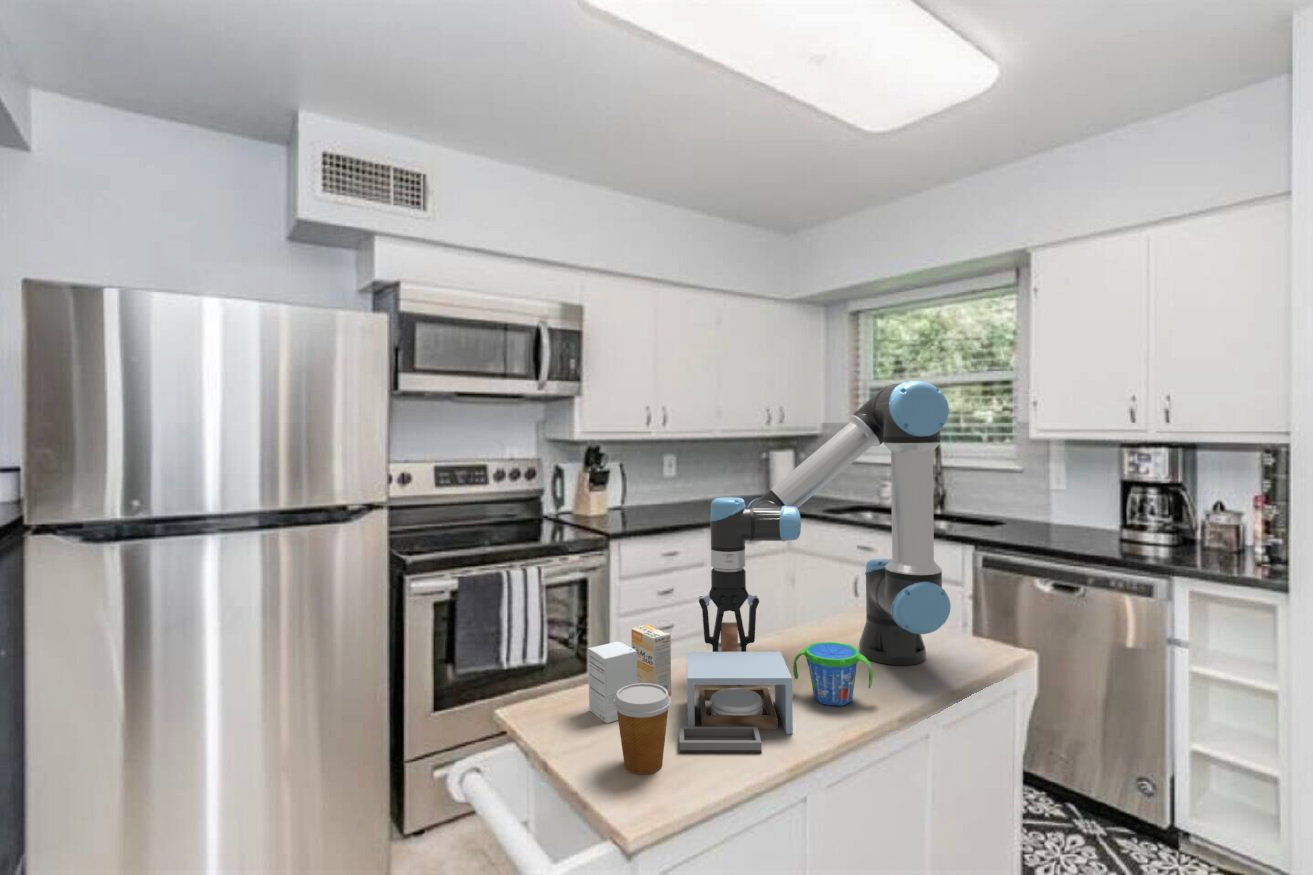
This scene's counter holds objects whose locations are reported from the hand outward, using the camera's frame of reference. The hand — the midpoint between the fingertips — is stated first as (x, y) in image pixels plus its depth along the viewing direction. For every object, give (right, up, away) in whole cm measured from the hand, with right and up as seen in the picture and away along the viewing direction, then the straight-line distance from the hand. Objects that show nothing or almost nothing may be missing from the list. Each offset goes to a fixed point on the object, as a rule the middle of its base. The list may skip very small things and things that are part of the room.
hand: (729, 673), depth 147 cm
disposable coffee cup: (-18, -2, -36) cm, 41 cm away
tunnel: (-1, -1, -19) cm, 19 cm away
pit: (-5, -2, -30) cm, 30 cm away
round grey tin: (-1, -2, -18) cm, 18 cm away
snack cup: (+20, -1, -12) cm, 23 cm away
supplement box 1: (-25, -2, -16) cm, 29 cm away
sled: (0, -1, -11) cm, 11 cm away
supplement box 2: (-17, -2, -6) cm, 19 cm away
